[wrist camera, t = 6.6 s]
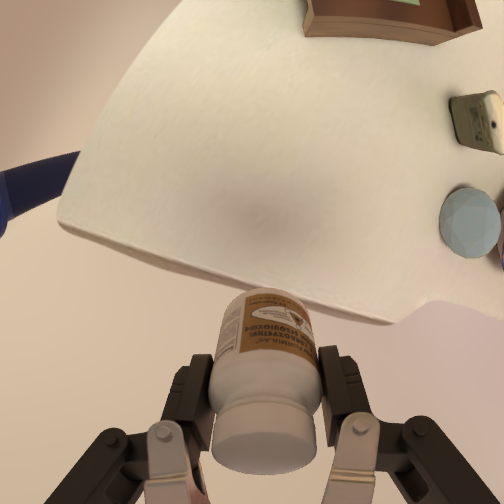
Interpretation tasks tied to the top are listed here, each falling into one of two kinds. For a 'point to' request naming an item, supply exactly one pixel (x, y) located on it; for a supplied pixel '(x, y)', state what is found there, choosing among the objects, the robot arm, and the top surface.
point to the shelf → (392, 19)
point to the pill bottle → (265, 385)
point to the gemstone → (470, 223)
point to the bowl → (501, 239)
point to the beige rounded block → (479, 121)
